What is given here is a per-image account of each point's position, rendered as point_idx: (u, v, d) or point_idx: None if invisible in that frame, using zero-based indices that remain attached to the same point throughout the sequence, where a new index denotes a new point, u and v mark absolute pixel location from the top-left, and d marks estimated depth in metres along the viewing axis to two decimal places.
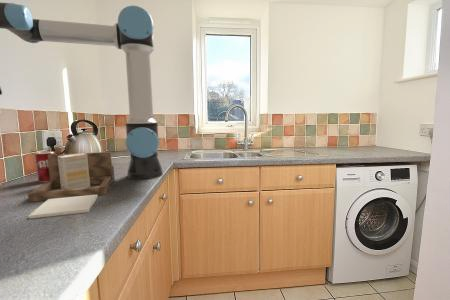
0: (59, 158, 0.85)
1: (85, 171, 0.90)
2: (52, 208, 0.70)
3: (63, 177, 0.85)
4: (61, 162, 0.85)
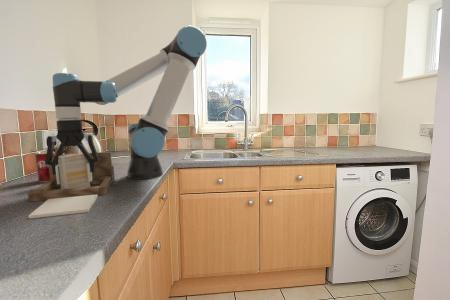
0: (59, 158, 0.85)
1: (85, 171, 0.90)
2: (52, 208, 0.70)
3: (63, 177, 0.85)
4: (61, 162, 0.85)
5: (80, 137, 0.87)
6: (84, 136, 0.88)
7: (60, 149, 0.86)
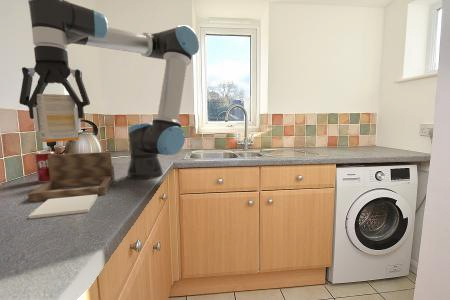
0: (37, 96, 0.67)
1: (71, 116, 0.71)
2: (52, 208, 0.70)
3: (42, 120, 0.66)
4: (40, 100, 0.66)
5: (65, 71, 0.68)
6: (70, 71, 0.69)
7: (39, 85, 0.67)
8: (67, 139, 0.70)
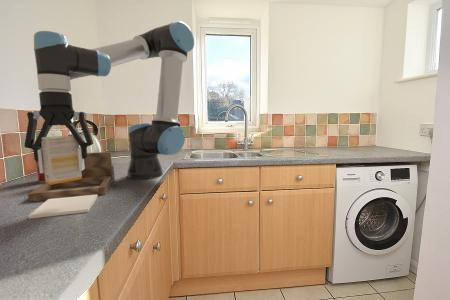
0: (42, 140, 0.68)
1: (75, 157, 0.72)
2: (52, 208, 0.70)
3: (47, 163, 0.68)
4: (45, 144, 0.67)
5: (69, 114, 0.70)
6: (74, 113, 0.71)
7: (44, 129, 0.68)
8: (71, 179, 0.72)
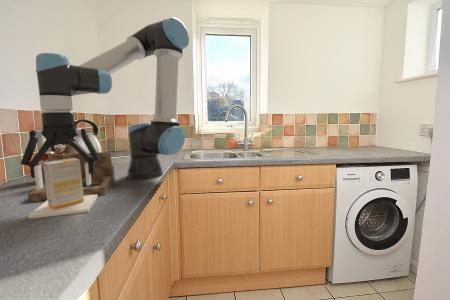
0: (45, 165, 0.69)
1: (77, 180, 0.73)
2: (52, 208, 0.70)
3: (50, 188, 0.69)
4: (47, 170, 0.68)
5: (72, 134, 0.71)
6: (76, 132, 0.71)
7: (44, 147, 0.69)
8: (73, 202, 0.73)
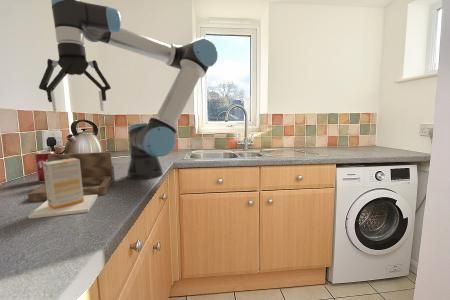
0: (45, 165, 0.69)
1: (77, 180, 0.73)
2: (52, 208, 0.70)
3: (50, 188, 0.69)
4: (47, 170, 0.68)
5: (84, 64, 0.80)
6: (88, 63, 0.81)
7: (59, 75, 0.78)
8: (73, 202, 0.73)
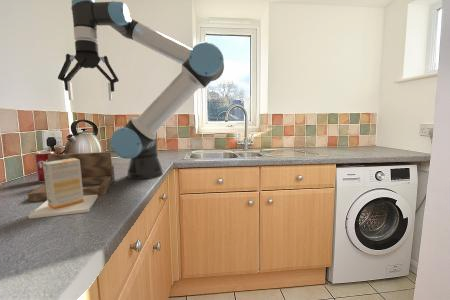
0: (45, 165, 0.69)
1: (77, 180, 0.73)
2: (52, 208, 0.70)
3: (50, 188, 0.69)
4: (47, 170, 0.68)
5: (97, 59, 0.93)
6: (100, 58, 0.94)
7: (75, 67, 0.91)
8: (73, 202, 0.73)
